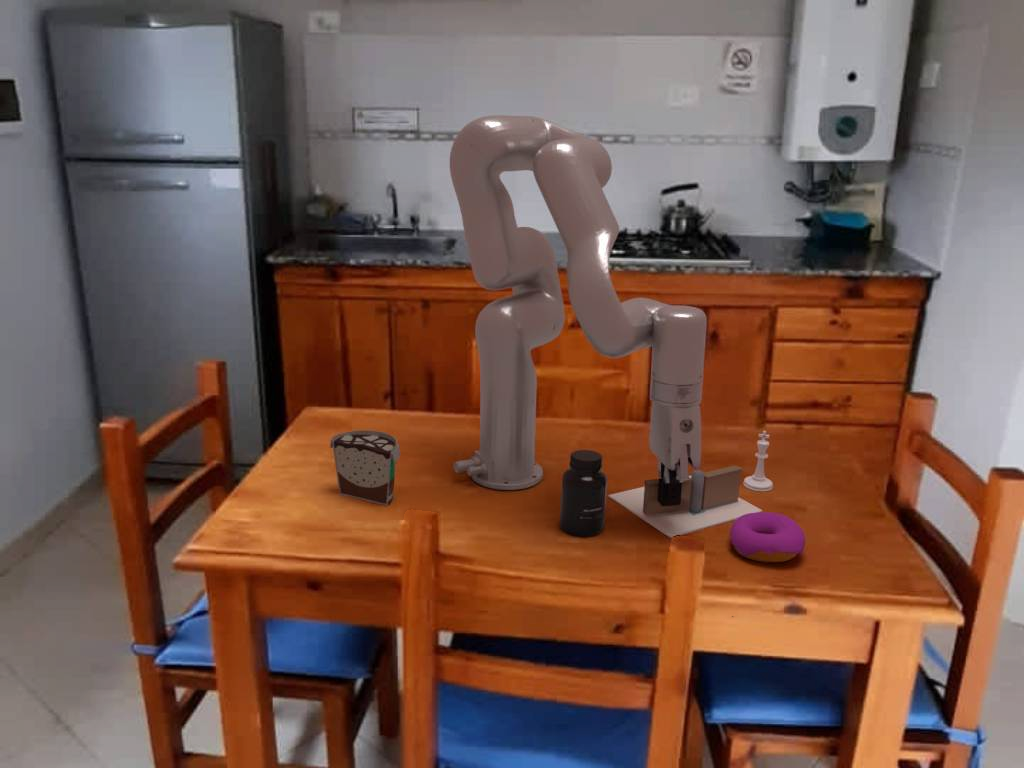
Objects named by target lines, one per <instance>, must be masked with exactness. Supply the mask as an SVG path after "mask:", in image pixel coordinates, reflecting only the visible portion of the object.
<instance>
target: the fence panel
mask: <svg viewBox="0 0 1024 768" xmlns="http://www.w3.org/2000/svg"><path fill="white" fill-rule="evenodd" d="M689 476H690V475H688V480H683V482H682V492H681V504H680V505H674V506H661V504H660V503H659V502H658V483H659V478H655V479H644V480H643V481H644V483H643V484H644V487H645V488H644V501H643V513H644V514H645V515H654V514H662V513H671V512H680V511H688V510H689V506H690V495H691V485H692V481H693V480H692V479H691V478H690V477H689Z"/></svg>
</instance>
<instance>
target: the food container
mask: <svg viewBox="0 0 1024 768" xmlns="http://www.w3.org/2000/svg"><path fill="white" fill-rule="evenodd" d="M329 448H330V449H333V456H334V462H335V471H336V478H337V486H338V493H339V495H340V496H346V497H349V498H353V499H357V500H361V499H362V501H365V500H366V501H365V502H370V503H373V502H374V503H375V504H378V505H382V504H383V506H386V505H388V506H390V505H391V503H392V502H393V500H394V492H395V491H394V490H395V489H394V488H395V478H396V477H395V475H396V474H395V473H396V462H397V460H399V458H400V456H401V450H400V445H399V443H398V441H397V439H396V437H394V436H393V435H392V434H390V433H386V432H384V431H379V430H368V429H367V430H366V429H363V430H361V429H360V430H350V431H345V432H342V433H338V434H335V435H333V436H331V440H330V445H329ZM374 503H373V504H374Z"/></svg>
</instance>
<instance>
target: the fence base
mask: <svg viewBox="0 0 1024 768" xmlns="http://www.w3.org/2000/svg"><path fill="white" fill-rule="evenodd" d="M742 472H743V468H742V467H740V466H738V465H735V464H734V465H731V466H727V467H723V468H718V469H715V470H714V469H713V470H711V471H706V472H705V471H704V470H701V469H693V470H691V473H690V475H688V476H689V477H690V478H691V479H692V480H693V481H692V485H691V495H690V506H689V510H688V511H680V512H671V513H662V514H654V515H645V514H644V513H643V501H644V488H645V486H641V487H637V488H633V489H628V490H624V491H620V492H615V493H611V494H607V495H608V496H607V497H608V498H609V499H611V500H612V501H614V502H616V503H617V504H619V505H620V506H621V507H622V508H624V509H626V510H627V511H629V512H631V513H632V514H633V515H635V516H637V517H638V518H640V519H641V520H643V521H644V522H646V523H647V524H649V525H650V526H652V527H654V528H655V529H656V530H658V531H659V532H661V533H662V534H663V535H666V536H667V537H669V538H670V539H673V538H674V537H673V536H676V535H680V536H682V535H686V534H690V533H693V532H696V531H701V530H704V529H705V530H706V529H708V528H711V527H714V526H718V525H721V524H725V523H729V522H733V521H735V520H736V519H737V518H739V517H740V516H742V515H745V514H749V513H758V512H763V509H760V508H759V507H757V506H755V505H753V504H751V503H750V502H747V501H746V500H744V499H743V498H740V497H739V494H740V487H741V486H740V484H741V476H742ZM676 537H677V536H676Z"/></svg>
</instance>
